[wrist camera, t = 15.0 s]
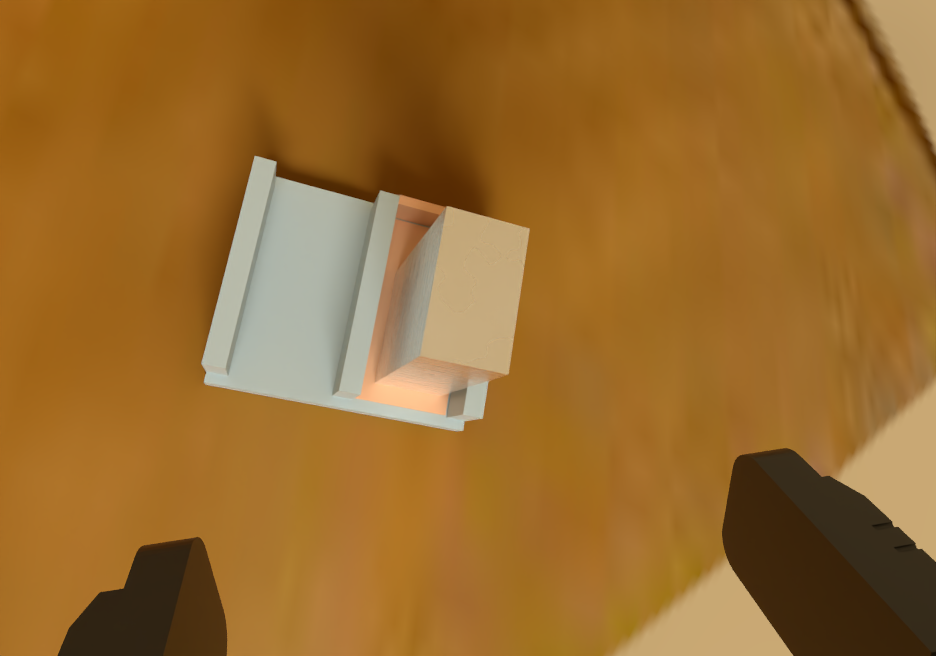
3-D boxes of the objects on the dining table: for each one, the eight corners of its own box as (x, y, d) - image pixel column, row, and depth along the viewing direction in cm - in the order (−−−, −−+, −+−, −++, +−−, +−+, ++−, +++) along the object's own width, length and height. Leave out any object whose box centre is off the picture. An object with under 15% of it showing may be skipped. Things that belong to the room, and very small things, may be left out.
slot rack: (456, 431, 36) (481, 428, 32) (205, 384, 33) (198, 375, 29) (487, 242, 39) (513, 217, 35) (257, 180, 35) (257, 146, 31)
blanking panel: (440, 395, 35) (508, 374, 25) (374, 382, 34) (420, 356, 24) (458, 287, 36) (529, 228, 27) (396, 271, 35) (446, 206, 26)
